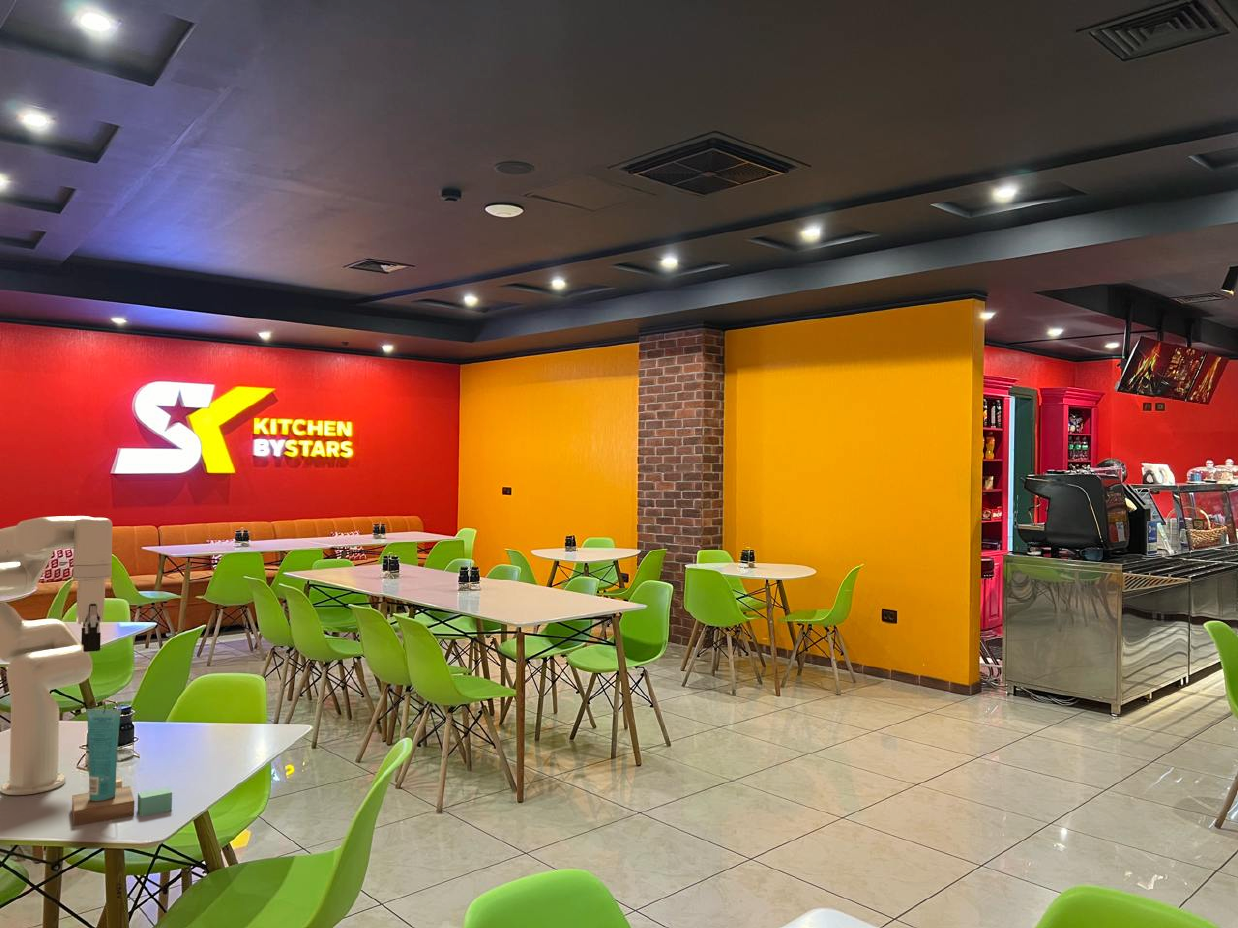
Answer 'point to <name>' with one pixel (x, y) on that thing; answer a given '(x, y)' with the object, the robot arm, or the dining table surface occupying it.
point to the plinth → (102, 807)
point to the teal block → (154, 801)
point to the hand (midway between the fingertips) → (90, 647)
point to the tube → (102, 752)
